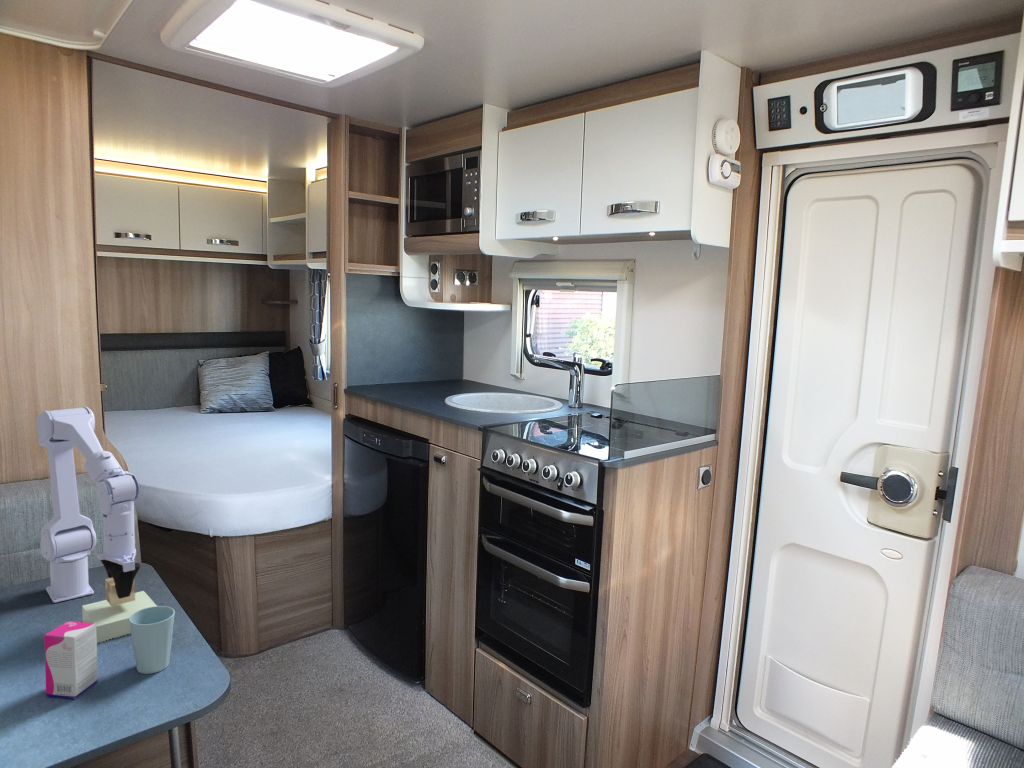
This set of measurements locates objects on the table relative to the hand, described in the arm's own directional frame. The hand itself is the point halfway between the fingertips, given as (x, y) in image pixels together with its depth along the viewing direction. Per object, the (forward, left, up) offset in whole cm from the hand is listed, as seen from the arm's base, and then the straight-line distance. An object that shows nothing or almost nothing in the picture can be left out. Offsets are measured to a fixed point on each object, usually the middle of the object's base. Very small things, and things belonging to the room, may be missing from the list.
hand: (120, 592), depth 142 cm
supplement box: (+21, -13, -7) cm, 26 cm away
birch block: (0, 0, -2) cm, 2 cm away
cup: (+22, 0, -7) cm, 23 cm away
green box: (0, 0, -7) cm, 7 cm away
